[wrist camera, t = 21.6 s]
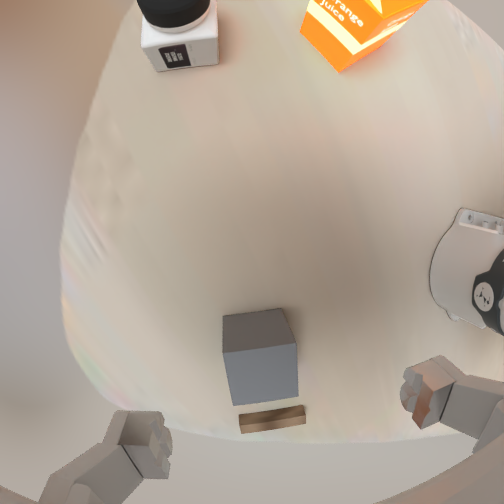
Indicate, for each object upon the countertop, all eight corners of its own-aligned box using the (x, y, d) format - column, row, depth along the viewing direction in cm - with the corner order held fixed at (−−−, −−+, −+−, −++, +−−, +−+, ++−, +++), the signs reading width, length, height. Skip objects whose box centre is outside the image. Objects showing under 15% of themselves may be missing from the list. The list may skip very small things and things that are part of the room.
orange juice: (380, 47, 30) (458, -25, 10) (338, 73, 31) (411, -11, 11) (342, 9, 28) (394, -79, 9) (297, 32, 29) (333, -71, 10)
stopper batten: (302, 404, 41) (305, 415, 38) (302, 413, 41) (305, 423, 39) (238, 414, 40) (239, 425, 38) (240, 422, 41) (241, 433, 38)
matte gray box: (281, 308, 37) (296, 342, 28) (284, 356, 38) (298, 396, 30) (222, 316, 36) (222, 353, 28) (230, 363, 38) (233, 405, 29)
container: (219, 65, 30) (217, 8, 17) (155, 73, 29) (123, 23, 16) (216, 17, 28) (215, -46, 15) (157, 25, 27) (132, -33, 15)
